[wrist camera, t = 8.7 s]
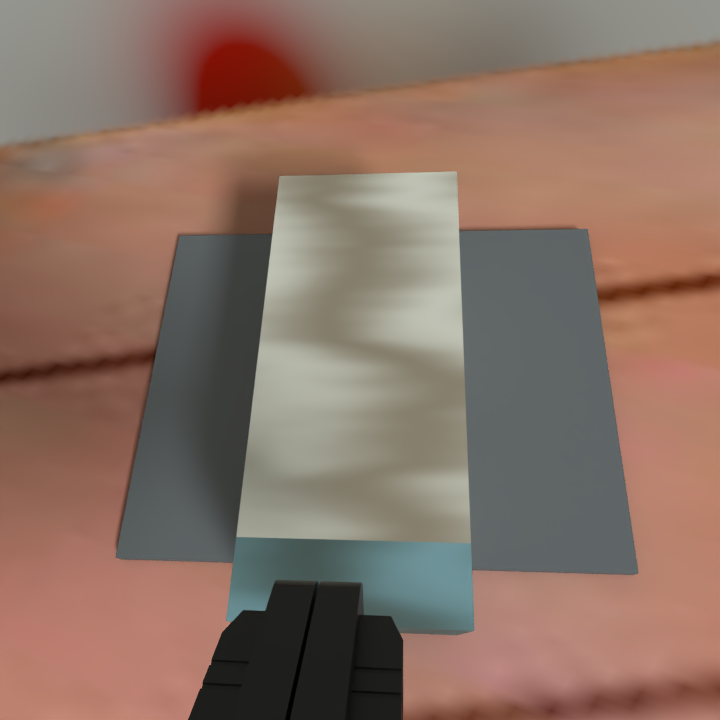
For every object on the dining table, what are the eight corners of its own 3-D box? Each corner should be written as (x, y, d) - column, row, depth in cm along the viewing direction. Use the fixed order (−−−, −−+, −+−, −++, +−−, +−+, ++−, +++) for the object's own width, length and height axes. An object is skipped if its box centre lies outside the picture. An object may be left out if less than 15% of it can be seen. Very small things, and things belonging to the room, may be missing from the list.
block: (457, 635, 20) (447, 271, 26) (474, 630, 14) (456, 171, 20) (275, 628, 20) (306, 273, 26) (226, 621, 15) (279, 175, 21)
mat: (584, 236, 27) (587, 228, 26) (633, 574, 21) (638, 573, 20) (183, 242, 28) (179, 235, 28) (121, 559, 22) (115, 557, 22)
